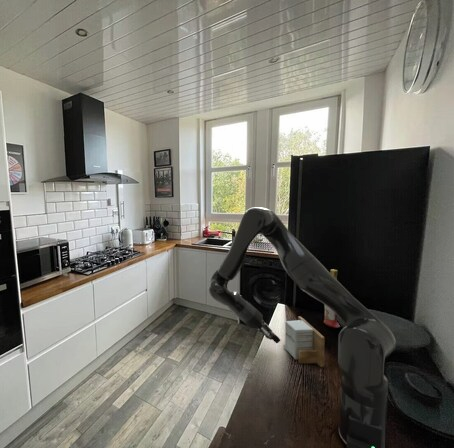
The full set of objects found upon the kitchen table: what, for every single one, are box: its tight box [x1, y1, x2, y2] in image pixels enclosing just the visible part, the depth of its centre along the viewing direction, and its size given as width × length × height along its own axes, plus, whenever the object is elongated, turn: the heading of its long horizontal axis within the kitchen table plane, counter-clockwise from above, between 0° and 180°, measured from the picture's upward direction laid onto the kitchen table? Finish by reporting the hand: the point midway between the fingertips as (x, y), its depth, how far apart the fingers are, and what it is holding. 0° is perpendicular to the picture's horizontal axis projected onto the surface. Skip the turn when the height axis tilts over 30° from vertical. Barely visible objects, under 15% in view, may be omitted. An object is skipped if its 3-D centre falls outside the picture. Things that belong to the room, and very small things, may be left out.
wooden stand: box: [297, 316, 326, 368], centre depth 100 cm, size 8×16×12 cm, turn 178°
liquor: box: [323, 268, 341, 329], centre depth 118 cm, size 7×7×28 cm
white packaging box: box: [284, 319, 313, 361], centre depth 100 cm, size 7×7×13 cm
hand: (278, 340), depth 100 cm, fingers closed
